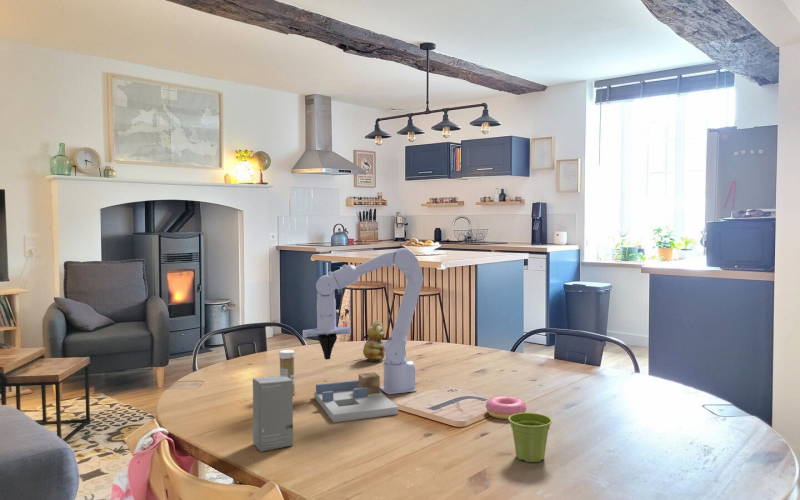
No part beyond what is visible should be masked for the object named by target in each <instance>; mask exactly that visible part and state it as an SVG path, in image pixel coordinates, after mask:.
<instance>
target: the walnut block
mask: <svg viewBox="0 0 800 500" xmlns="http://www.w3.org/2000/svg"><path fill="white" fill-rule="evenodd" d="M380 376H381V375H379V374H378V373H376V372H365V373H364V372H362V373H358V380H359V388H364V387H367V394H375V393H380V392H381V389H380V386H381V385H380V384H381V381H380V380H381V379H380V378H381V377H380Z"/></svg>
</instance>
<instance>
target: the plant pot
mask: <svg viewBox="0 0 800 500" xmlns="http://www.w3.org/2000/svg"><path fill="white" fill-rule="evenodd" d="M507 420H508V421H509V424H510V428H511V430H512V436H513V442H514V443H513V444H514V450H515V455H516V458H517V459H518V460H520V461H521V460H523V461H525V462H526V463H539V462H541V461H542V460H544V459H545V456H546V448H547V441H548V433H549V430H550V427H551V425H552V423H553V419H552V418H551V417H550V416H547V415H545V414H543V413H542V414H541V413H535V412H525V413H517V414H513V415H511V416H509V418H508V419H507Z"/></svg>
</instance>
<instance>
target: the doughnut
mask: <svg viewBox="0 0 800 500" xmlns="http://www.w3.org/2000/svg"><path fill="white" fill-rule="evenodd" d="M485 409H487V410H486V412H487V411H488V412H487V414H488V413H489V414H488V415H489V416H490V417H493V418H496V419H500V420H508V418H509V416H511V415H513V414H517V413H527V411H526V410H527V406H526V403H525V401H523V399H520V398H519V397H514V396H507V395H499V396H494V397H491V398H489V399H488V400H487V401H486V404H485Z"/></svg>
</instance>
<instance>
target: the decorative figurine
mask: <svg viewBox="0 0 800 500" xmlns="http://www.w3.org/2000/svg"><path fill="white" fill-rule="evenodd" d="M372 324H373V325H370V327H368V329H367V336H368V338H367V341H366V342H364V345H363V350H362V352H363V354H362V355H363V356H364V358H365V359H368V362H375V363H377V362H378V363H380V362H383V361H384V359H385V349H384V346H385V344H384V342H383V341H382V339H383V338H384V337H385V334H386V332H385V329H384V328H383V327H384V325H383V323H382V322H380V320H379V319H377V320H375V321H374V323H372Z"/></svg>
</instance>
